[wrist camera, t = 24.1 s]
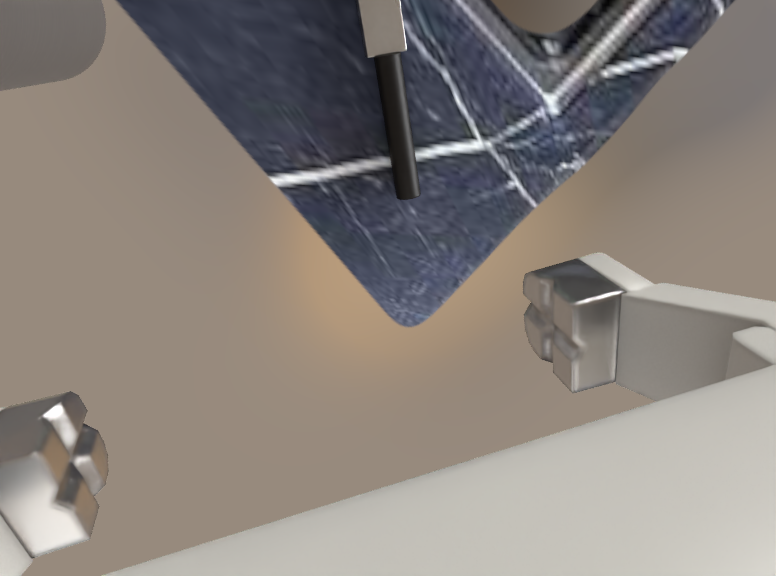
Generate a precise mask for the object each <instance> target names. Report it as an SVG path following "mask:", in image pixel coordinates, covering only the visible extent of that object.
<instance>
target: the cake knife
mask: <svg viewBox="0 0 776 576" xmlns="http://www.w3.org/2000/svg"><path fill="white" fill-rule="evenodd" d="M356 5H357V11H358V17H359V23H360V29H361V35H362V40H363V46H364V52H365V57H366V58H370V57H374V61H375V67H376V73H377V79H378V85H379V91H380V97H381V104H382V110H383V116H384V122H385V128H386V134H387V140H388V147H389V153H390V159H391V165H392V171H393V177H394V183H395V190H396V196H397V198H398V199H400V200H408V199H413V198H416V197H418V196H420V194H421V193H420V186H419V179H418V172H417V165H416V158H415V151H414V144H413V137H412V130H411V123H410V116H409V109H408V102H407V95H406V88H405V81H404V74H403V67H402V60H401V53H400V52H402V51H406V50H407V48H406V41H405V33H404V26H403V19H402V12H401V4H400V0H356Z"/></svg>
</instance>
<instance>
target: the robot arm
mask: <svg viewBox="0 0 776 576" xmlns="http://www.w3.org/2000/svg"><path fill="white" fill-rule="evenodd" d="M523 294H524V295H525V296H526V297H527V298H528V299H529V300H530V301H531V303H530V305H529V307H528V308H527V310H526V312H525V314H524V322H525V330H526V334H527V337H528V340H529V343H530V345H531V347H532V348H533V350H534V352H535V353H536V354H537V355H538V356H539V358H540V359H542V360H545V361H548V362H552V363H553V373H554V374H555V375H556V376H557V377H558V378H559V379H560V380H561V381H562V383H563V384H564V385H565V386H566V387H567V388H568V389H569V390H570V391H571V392H572V393H576V392H580V391H583V390H587V389H591V388H594V387H598V386H602V385H605V384H609V383H613V382H616V384H618V385H620V386H622V387H625V388H627V389H629V390H631V391H634V392H636V393H638V394H641V395H643V396H645V397H648V398H650V399H652V400H655V401H657V402H654V403H651V404H648V405H645V406H641V407H638V408H635V409H632V410H628V411H625V412H622V413H619V414H616V415H612V416H609V417H606V418H603V419H600V420H596V421H593V422H590V423H587V424H584V425H580V426H577V427H575V428H571V429H568V430H565V431H561V432H558V433H555V434H552V435H549V436H546V437H542V438H539V439H536V440H533V441H530V442H526V443H523V444H520V445H517V446H514V447H510V448H507V449H504V450H501V451H498V452H494V453H491V454H488V455H485V456H482V457H478V458H475V459H472V460H469V461H466V462H463V463H460V464H456V465H453V466H450V467H447V468H443V469H441V470H437V471H434V472H431V473H427V474H424V475H421V476H418V477H415V478H412V479H409V480H405V481H402V482H399V483H396V484H392V485H389V486H386V487H383V488H380V489H376V490H373V491H370V492H367V493H364V494H360V495H357V496H354V497H351V498H348V499H344V500H341V501H338V502H335V503H332V504H329V505H326V506H322V507H319V508H316V509H313V510H309V511H306V512H303V513H300V514H297V515H294V516H290V517H287V518H284V519H281V520H278V521H274V522H271V523H268V524H265V525H261V526H258V527H255V528H252V529H249V530H245V531H242V532H239V533H236V534H233V535H230V536H226V537H223V538H220V539H217V540H214V541H211V542H207V543H204V544H201V545H198V546H194V547H191V548H188V549H185V550H182V551H179V552H175V553H172V554H169V555H166V556H163V557H159V558H156V559H153V560H150V561H146V562H144V563H140V564H137V565H134V566H131V567H128V568H124V569H121V570H118V571H115V572H111V573H108V574H105V575H102V576H776V302H773V301H767V300H761V299H756V298H750V297H743V296H738V295H731V294H726V293H720V292H714V291H708V290H702V289H696V288H691V287H684V286H678V285H673V284H667V283H660V284H656V285H655V284H653V283H651V282H650V281H648V280H646V279H645V278H643V277H642V276H640V275H638V274H637V273H635V272H634V271H632V270H630V269H628V268H627V267H625V266H624V265H622V264H621V263H619V262H617V261H615V260H614V259H612V258H611V257H609V256H608V255H606V254H604V253H593V254H590V255H587V256H584V257H580V258H577V259H574V260H570V261H566V262H563V263H559V264H556V265H552V266H549V267H545V268H542V269H539V270H535V271H531V272H529V273H526V274H525V276H524V281H523ZM86 413H87V409H86V407H85V405H84V404H83V402H82V400H81V399H80V397H79V395H77V394H75V393H73V392H71V391H70V392H66V393H62V394H58V395H54V396H50V397H45V398H41V399H37V400H33V401H29V402H25V403H21V404H16V405H13V406H9V407H2V408H0V576H21V575H22V574H23V573H24V571H25V570H26V569H27V568H28V566H29V565H30V564H31V563H32V561H33V560H32V558H35V557H38V556H41V555H44V554H47V553H50V552H53V551H56V550H59V549H62V548H65V547H69V546H71V545H74V544H78V543H81V542H83V541H87V540H89V539H90V537H91V534H92V530H93V527H94V523H95V520H96V516H97V513H98V509H99V504H98V503H97V501H96V499H95V498H94V496H95V495H96V494H97V493H98V492H99V491H100V490H101V489H102V488H103V487H104V486H105V484H106V479H107V476H108V454H107V451H106V447H105V444H104V441H103V439H102V437H101V435H100V433H99V432H98V430H96V429H94V428H92V427H90V426H88V425H86V424H84V423H83V422H84V419H85V416H86Z"/></svg>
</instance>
